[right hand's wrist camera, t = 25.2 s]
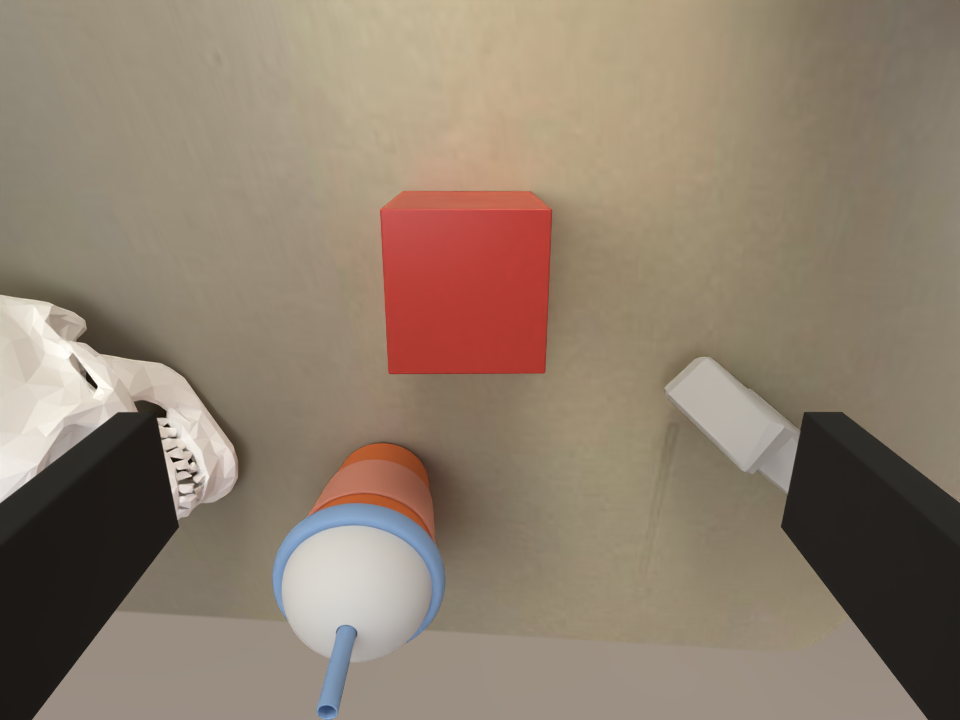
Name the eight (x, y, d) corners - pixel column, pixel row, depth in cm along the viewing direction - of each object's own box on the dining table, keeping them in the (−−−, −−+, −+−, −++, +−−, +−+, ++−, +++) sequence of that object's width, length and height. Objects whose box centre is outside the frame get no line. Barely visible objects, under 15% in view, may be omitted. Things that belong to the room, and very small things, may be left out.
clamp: (653, 385, 40) (696, 440, 33) (694, 341, 39) (747, 390, 32) (838, 528, 46) (903, 596, 40) (878, 494, 45) (951, 558, 39)
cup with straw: (424, 553, 44) (396, 811, 27) (301, 514, 43) (191, 759, 26) (470, 448, 41) (470, 661, 24) (340, 403, 40) (245, 595, 23)
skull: (217, 538, 43) (88, 739, 28) (-110, 411, 40) (-458, 564, 25) (287, 378, 40) (182, 510, 25) (-65, 223, 36) (-438, 268, 21)
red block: (527, 318, 39) (545, 373, 30) (407, 318, 38) (388, 374, 29) (531, 191, 36) (552, 208, 27) (402, 191, 36) (380, 208, 27)
